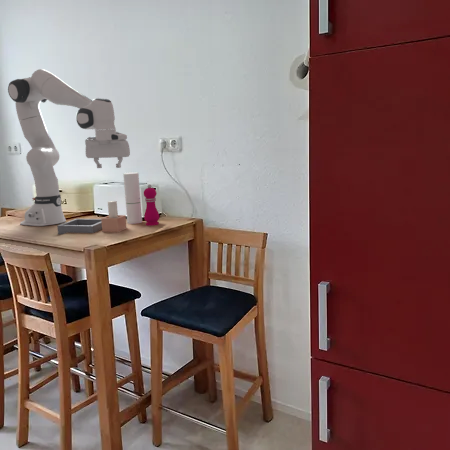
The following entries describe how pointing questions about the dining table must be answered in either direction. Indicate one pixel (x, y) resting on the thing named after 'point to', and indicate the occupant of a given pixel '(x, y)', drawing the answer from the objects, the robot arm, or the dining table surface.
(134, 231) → the dining table surface
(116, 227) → the pink block with hole
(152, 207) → the pepper mill
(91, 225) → the tray
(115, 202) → the dowel
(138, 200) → the cylindrical container
